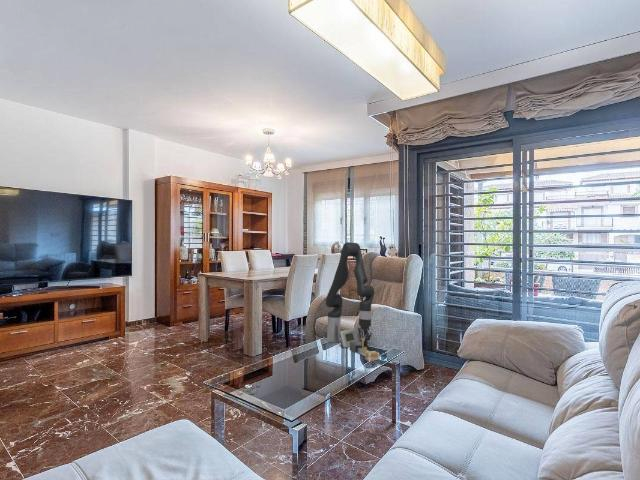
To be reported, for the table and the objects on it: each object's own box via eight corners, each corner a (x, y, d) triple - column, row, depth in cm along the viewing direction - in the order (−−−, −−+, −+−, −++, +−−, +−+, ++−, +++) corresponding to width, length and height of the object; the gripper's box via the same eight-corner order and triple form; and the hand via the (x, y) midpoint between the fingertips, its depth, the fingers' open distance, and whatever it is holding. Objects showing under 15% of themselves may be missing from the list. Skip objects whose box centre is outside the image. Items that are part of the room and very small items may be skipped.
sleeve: (349, 349, 233) (349, 342, 233) (358, 349, 235) (358, 341, 235) (354, 352, 226) (354, 344, 226) (363, 352, 229) (363, 344, 229)
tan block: (364, 358, 213) (365, 351, 213) (374, 358, 216) (375, 351, 216) (369, 361, 208) (369, 354, 209) (379, 360, 211) (379, 353, 211)
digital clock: (343, 349, 235) (344, 332, 235) (335, 345, 242) (335, 330, 243) (362, 346, 244) (362, 330, 245) (353, 343, 252) (354, 327, 252)
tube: (352, 349, 233) (352, 333, 234) (356, 348, 234) (356, 333, 235) (365, 356, 216) (365, 339, 217) (369, 356, 218) (370, 339, 218)
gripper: (354, 316, 227) (353, 343, 226) (365, 320, 214) (364, 349, 214) (365, 315, 230) (364, 343, 229) (376, 319, 217) (375, 348, 216)
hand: (364, 346), depth 221 cm, fingers closed on tube, 2 cm apart
